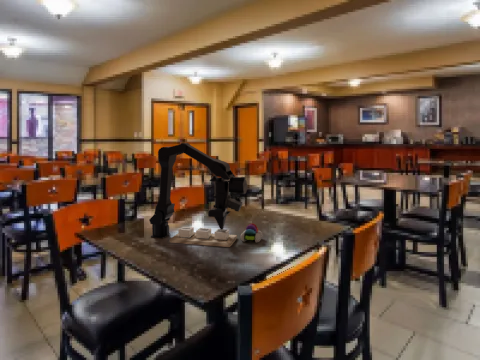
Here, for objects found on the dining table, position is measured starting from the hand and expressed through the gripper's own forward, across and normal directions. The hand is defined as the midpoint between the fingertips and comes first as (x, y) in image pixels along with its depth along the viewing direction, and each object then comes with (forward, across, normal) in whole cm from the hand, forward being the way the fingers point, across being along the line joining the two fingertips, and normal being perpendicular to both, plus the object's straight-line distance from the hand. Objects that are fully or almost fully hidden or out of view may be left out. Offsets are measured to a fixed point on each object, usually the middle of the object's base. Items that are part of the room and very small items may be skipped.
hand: (221, 229), depth 145 cm
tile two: (+4, 0, +8) cm, 9 cm away
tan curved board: (+6, 0, +8) cm, 10 cm away
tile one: (+4, 0, +16) cm, 16 cm away
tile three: (+4, 0, 0) cm, 4 cm away
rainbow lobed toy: (+6, +5, -12) cm, 14 cm away
